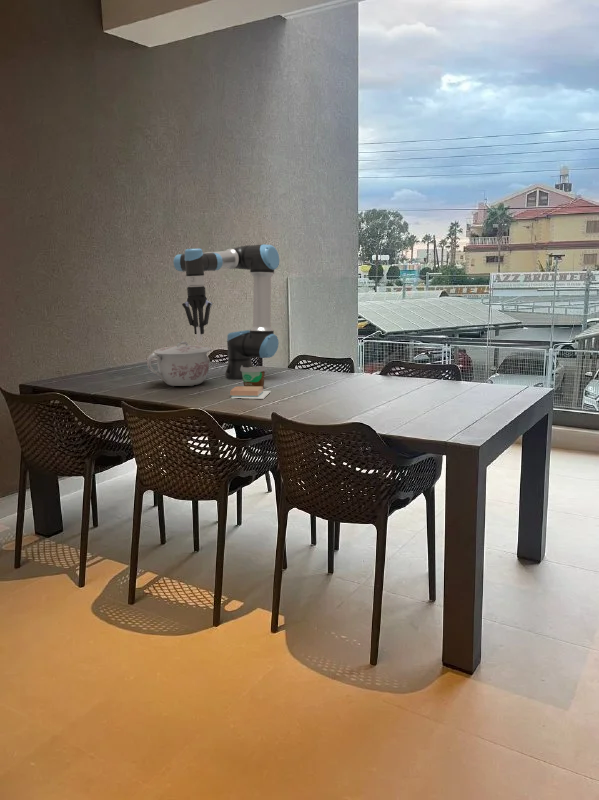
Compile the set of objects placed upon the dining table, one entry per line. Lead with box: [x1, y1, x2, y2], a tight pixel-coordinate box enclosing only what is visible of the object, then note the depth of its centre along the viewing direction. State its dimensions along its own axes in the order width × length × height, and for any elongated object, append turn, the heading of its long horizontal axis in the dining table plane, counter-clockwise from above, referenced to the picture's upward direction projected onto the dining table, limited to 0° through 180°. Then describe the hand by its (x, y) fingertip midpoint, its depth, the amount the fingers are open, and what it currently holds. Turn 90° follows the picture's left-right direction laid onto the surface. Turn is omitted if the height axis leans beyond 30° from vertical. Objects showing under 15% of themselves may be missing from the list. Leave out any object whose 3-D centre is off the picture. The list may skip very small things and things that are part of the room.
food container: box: [240, 365, 267, 388], centre depth 293 cm, size 12×6×10 cm, turn 71°
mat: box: [230, 390, 272, 400], centre depth 277 cm, size 16×14×1 cm
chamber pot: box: [146, 341, 213, 387], centre depth 305 cm, size 28×28×21 cm
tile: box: [229, 385, 264, 397], centre depth 277 cm, size 10×2×12 cm
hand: (200, 341), depth 276 cm, fingers closed
